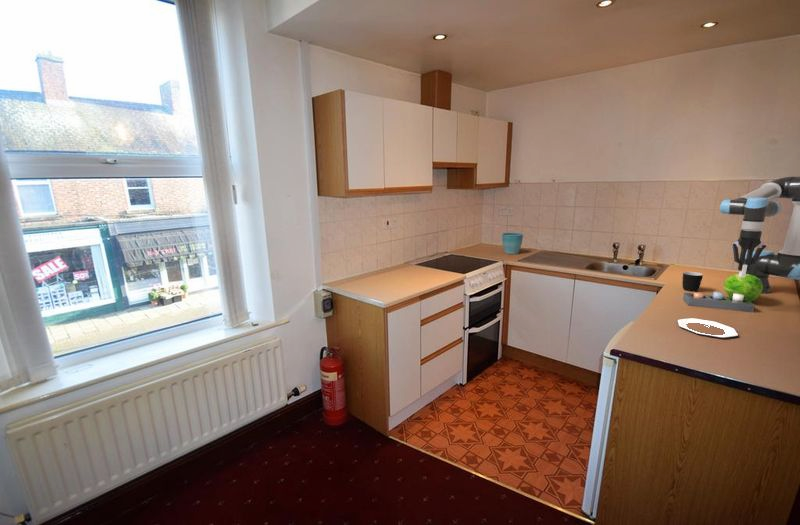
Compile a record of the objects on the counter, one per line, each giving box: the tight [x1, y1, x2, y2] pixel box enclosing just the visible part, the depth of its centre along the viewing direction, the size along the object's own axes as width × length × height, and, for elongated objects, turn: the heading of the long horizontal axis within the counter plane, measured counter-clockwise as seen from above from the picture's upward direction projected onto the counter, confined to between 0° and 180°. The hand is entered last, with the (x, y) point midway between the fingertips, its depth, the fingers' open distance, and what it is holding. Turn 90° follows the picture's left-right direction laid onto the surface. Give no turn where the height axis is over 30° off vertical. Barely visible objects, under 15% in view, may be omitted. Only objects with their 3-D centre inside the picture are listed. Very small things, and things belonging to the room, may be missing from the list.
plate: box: [677, 317, 739, 339], centre depth 161 cm, size 20×20×2 cm
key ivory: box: [732, 293, 744, 302], centre depth 185 cm, size 4×4×4 cm
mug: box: [681, 271, 704, 293], centre depth 216 cm, size 12×9×10 cm
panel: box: [682, 292, 755, 313], centre depth 189 cm, size 26×10×4 cm, turn 66°
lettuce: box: [722, 273, 763, 302], centre depth 196 cm, size 15×23×16 cm
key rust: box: [693, 291, 705, 298], centre depth 192 cm, size 4×4×4 cm
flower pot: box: [501, 232, 524, 255], centre depth 324 cm, size 18×18×17 cm
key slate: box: [712, 291, 725, 300], centre depth 188 cm, size 4×4×4 cm
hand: (741, 276), depth 183 cm, fingers closed
